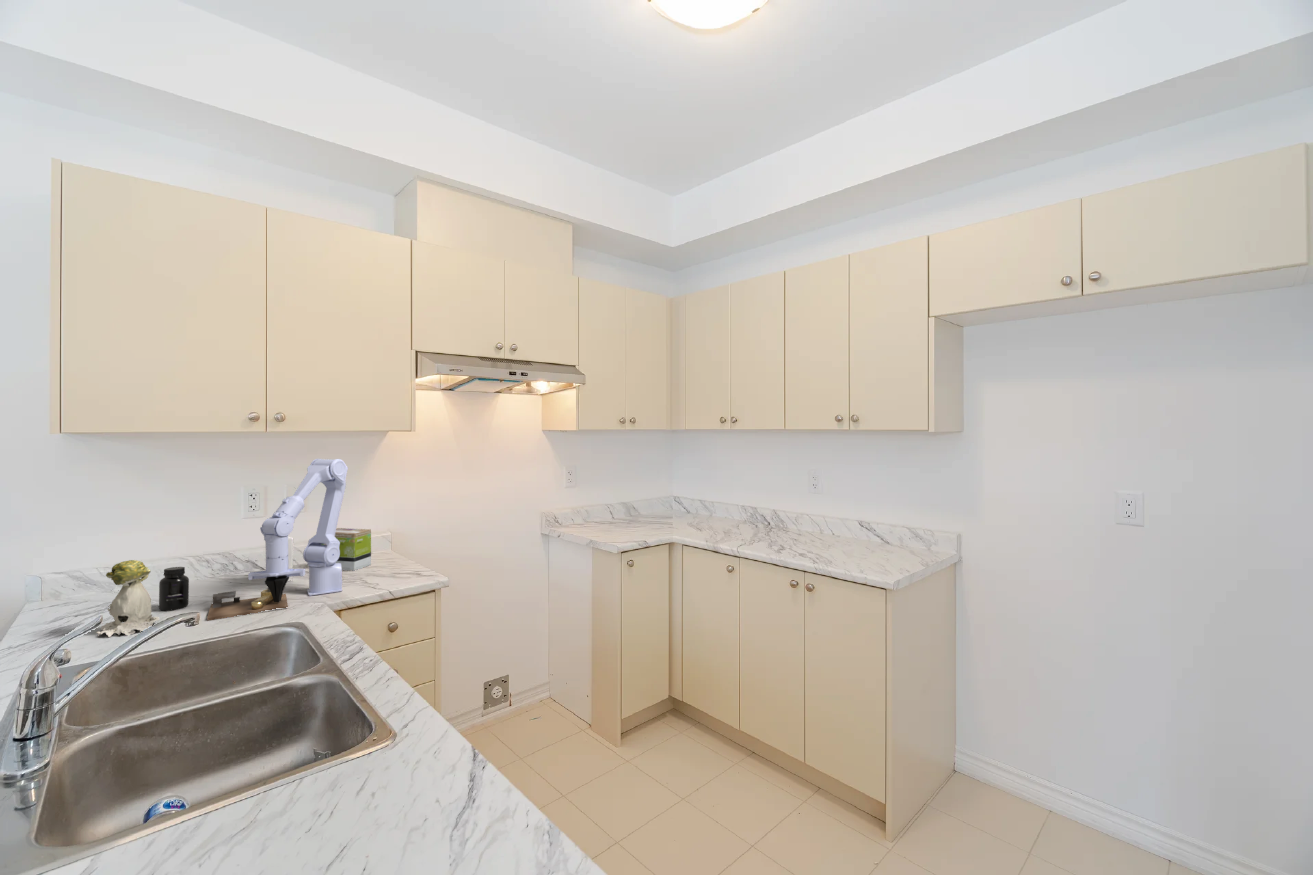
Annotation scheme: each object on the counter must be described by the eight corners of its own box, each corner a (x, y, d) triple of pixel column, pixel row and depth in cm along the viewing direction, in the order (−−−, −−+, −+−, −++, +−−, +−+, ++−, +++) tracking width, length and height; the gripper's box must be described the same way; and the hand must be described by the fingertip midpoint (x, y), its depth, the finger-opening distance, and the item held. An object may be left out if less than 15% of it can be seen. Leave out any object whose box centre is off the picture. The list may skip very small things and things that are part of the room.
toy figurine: (160, 618, 161) (160, 553, 161) (158, 630, 151) (157, 561, 151) (102, 627, 153) (101, 559, 153) (95, 640, 143) (94, 568, 143)
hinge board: (285, 595, 182) (285, 582, 182) (288, 608, 169) (287, 593, 169) (211, 606, 171) (210, 592, 171) (207, 620, 158) (207, 605, 158)
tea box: (319, 569, 218) (319, 531, 218) (338, 563, 228) (338, 527, 227) (354, 571, 215) (354, 532, 215) (372, 565, 225) (371, 528, 225)
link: (265, 596, 178) (265, 588, 178) (282, 595, 180) (282, 587, 180) (246, 609, 165) (246, 601, 165) (264, 608, 166) (264, 600, 166)
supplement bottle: (171, 612, 166) (171, 571, 166) (152, 610, 168) (152, 570, 168) (194, 605, 173) (194, 566, 173) (176, 603, 174) (176, 565, 174)
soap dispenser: (294, 580, 202) (293, 519, 201) (274, 584, 196) (273, 521, 196) (285, 578, 205) (284, 517, 205) (265, 582, 200) (264, 520, 199)
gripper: (244, 561, 166) (244, 607, 166) (300, 557, 170) (300, 602, 170) (253, 556, 173) (253, 600, 173) (307, 553, 177) (307, 596, 177)
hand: (277, 601), depth 172 cm, fingers closed
